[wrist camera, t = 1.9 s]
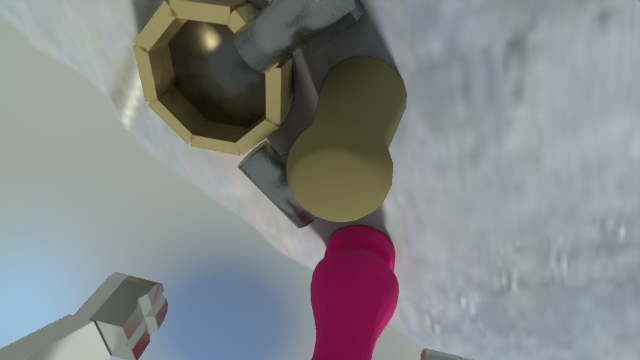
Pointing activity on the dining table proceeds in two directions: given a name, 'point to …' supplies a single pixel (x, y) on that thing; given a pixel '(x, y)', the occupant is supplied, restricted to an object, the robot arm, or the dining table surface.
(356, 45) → the dining table surface
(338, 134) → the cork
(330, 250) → the pepper mill
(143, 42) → the coupling collar
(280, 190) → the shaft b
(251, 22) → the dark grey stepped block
